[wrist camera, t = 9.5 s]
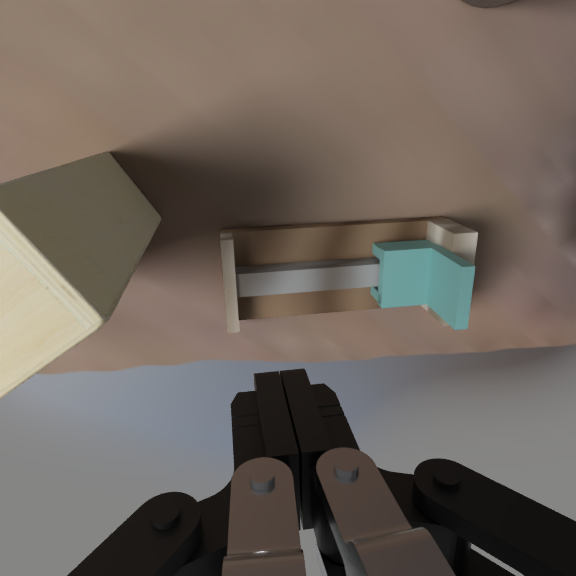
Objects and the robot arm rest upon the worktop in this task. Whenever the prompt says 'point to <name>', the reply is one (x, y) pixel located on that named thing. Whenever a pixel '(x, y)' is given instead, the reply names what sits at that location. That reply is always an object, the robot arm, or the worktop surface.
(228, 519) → the robot arm
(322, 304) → the track
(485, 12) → the worktop surface
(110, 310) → the toy refrigerator
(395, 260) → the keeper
